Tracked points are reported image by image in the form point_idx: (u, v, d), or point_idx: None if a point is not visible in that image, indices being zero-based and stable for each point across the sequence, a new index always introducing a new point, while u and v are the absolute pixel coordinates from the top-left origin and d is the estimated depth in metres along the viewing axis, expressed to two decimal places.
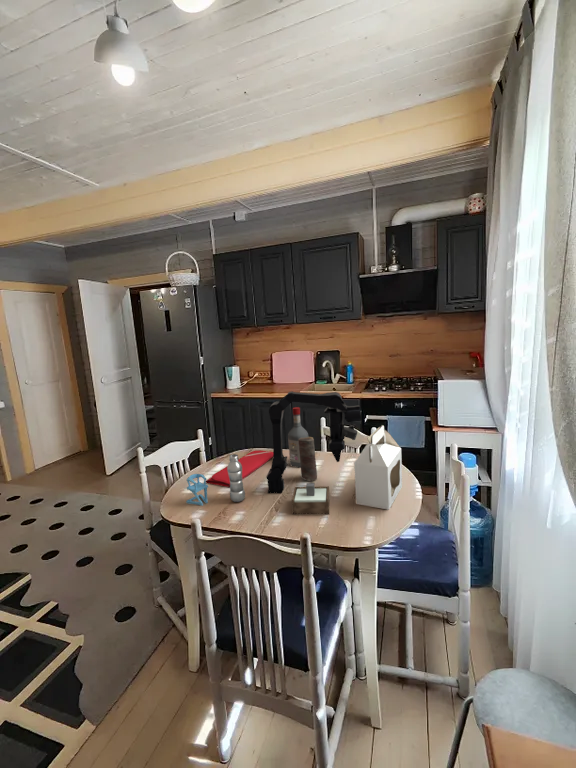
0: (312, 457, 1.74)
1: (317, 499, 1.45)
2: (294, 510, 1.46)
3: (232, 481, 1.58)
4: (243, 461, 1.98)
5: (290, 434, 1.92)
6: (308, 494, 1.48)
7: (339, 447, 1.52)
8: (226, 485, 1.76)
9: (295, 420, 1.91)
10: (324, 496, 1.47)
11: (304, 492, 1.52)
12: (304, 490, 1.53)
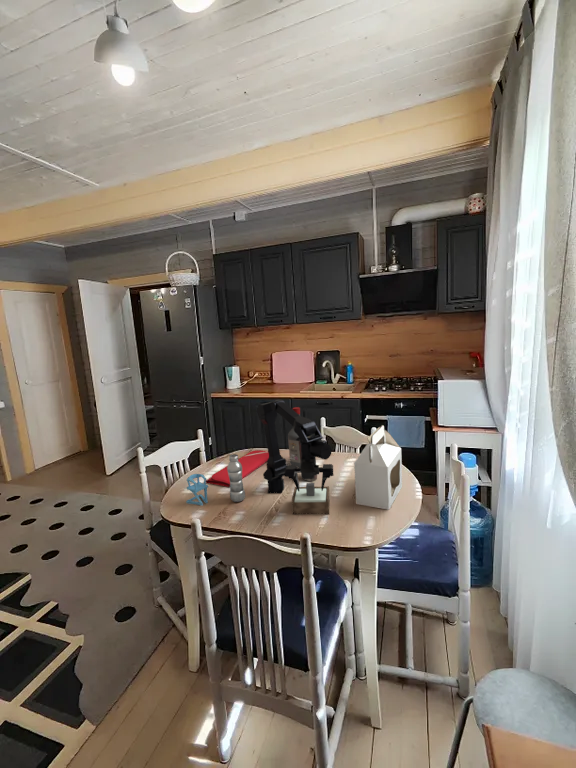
0: None
1: (317, 499, 1.45)
2: (294, 510, 1.46)
3: (232, 481, 1.58)
4: (243, 461, 1.98)
5: (290, 434, 1.92)
6: (308, 494, 1.48)
7: None
8: (226, 485, 1.77)
9: None
10: (324, 496, 1.47)
11: (304, 492, 1.52)
12: (304, 490, 1.53)
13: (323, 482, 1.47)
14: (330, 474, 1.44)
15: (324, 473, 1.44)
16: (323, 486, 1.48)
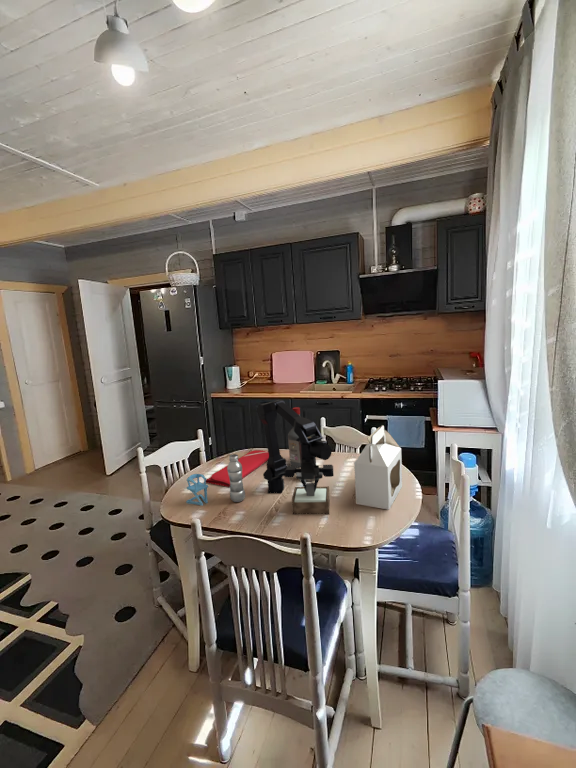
0: None
1: (317, 499, 1.45)
2: (294, 510, 1.46)
3: (232, 481, 1.58)
4: (242, 461, 1.98)
5: (290, 434, 1.92)
6: (308, 494, 1.48)
7: None
8: (225, 485, 1.77)
9: None
10: (324, 496, 1.47)
11: (304, 492, 1.52)
12: (304, 490, 1.53)
13: (316, 483, 1.47)
14: (330, 474, 1.44)
15: (324, 473, 1.44)
16: None
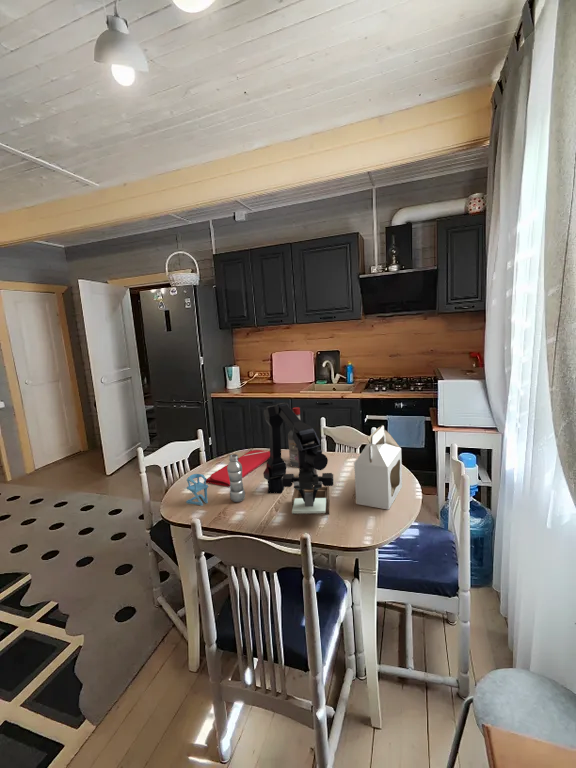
0: None
1: (316, 510, 1.36)
2: None
3: (232, 481, 1.58)
4: (242, 461, 1.99)
5: (290, 434, 1.92)
6: (307, 504, 1.39)
7: None
8: (225, 484, 1.77)
9: None
10: (324, 507, 1.38)
11: (302, 502, 1.43)
12: (302, 500, 1.45)
13: (315, 492, 1.38)
14: (330, 484, 1.35)
15: (324, 483, 1.35)
16: None
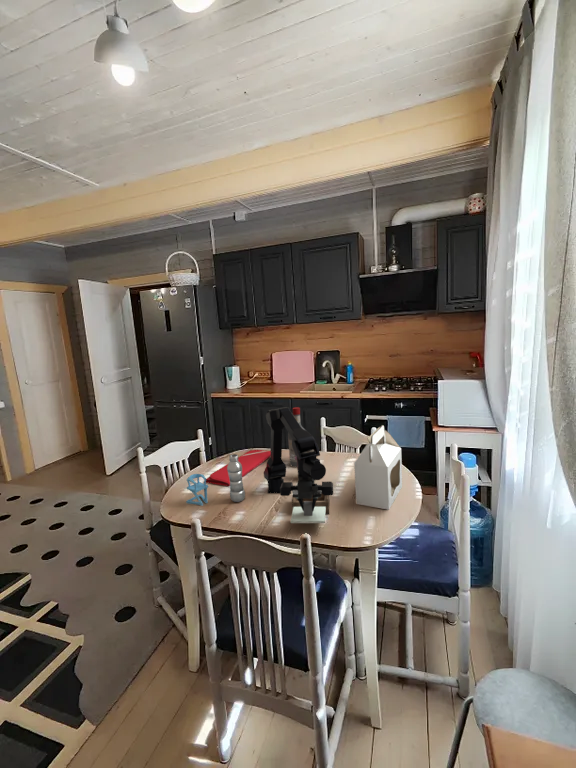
0: None
1: (315, 520, 1.33)
2: None
3: (232, 481, 1.58)
4: (241, 461, 1.99)
5: None
6: (306, 514, 1.36)
7: None
8: (224, 484, 1.78)
9: None
10: (323, 516, 1.35)
11: (301, 511, 1.39)
12: (301, 509, 1.41)
13: (314, 501, 1.35)
14: (330, 493, 1.32)
15: (323, 492, 1.32)
16: (314, 506, 1.35)
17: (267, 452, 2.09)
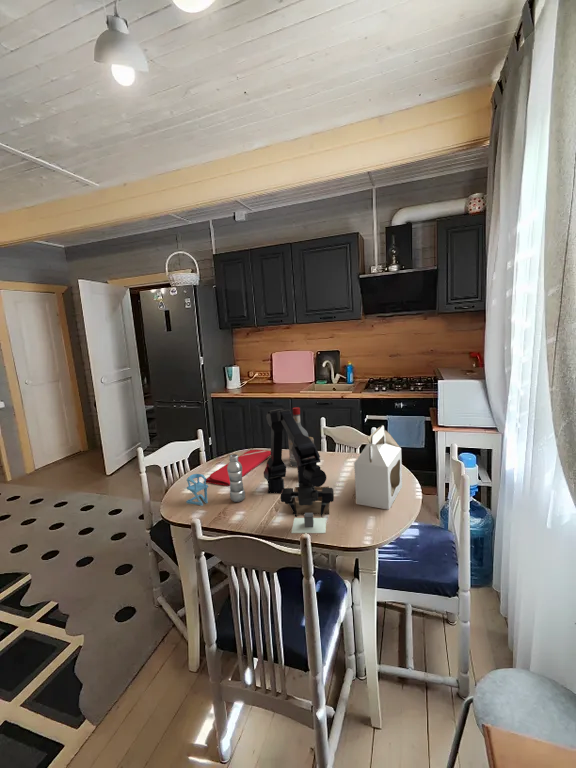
0: (312, 457, 1.74)
1: (316, 531, 1.33)
2: None
3: (232, 481, 1.58)
4: (240, 461, 1.99)
5: None
6: (306, 525, 1.37)
7: None
8: (224, 484, 1.78)
9: (295, 420, 1.91)
10: (324, 528, 1.35)
11: (302, 522, 1.40)
12: (302, 520, 1.42)
13: (322, 508, 1.35)
14: (330, 499, 1.32)
15: (324, 498, 1.32)
16: (322, 512, 1.35)
17: (266, 452, 2.10)
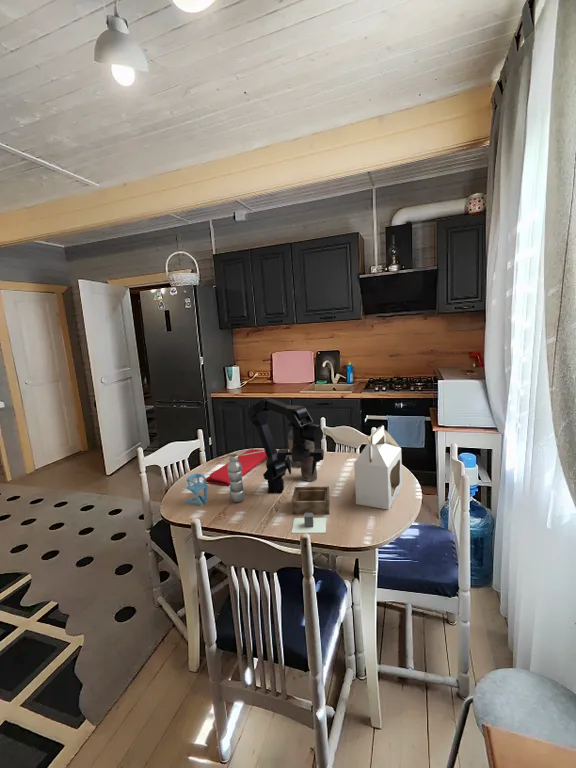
0: (312, 457, 1.74)
1: (316, 531, 1.33)
2: (294, 510, 1.46)
3: (232, 481, 1.58)
4: (240, 461, 2.00)
5: (290, 434, 1.92)
6: (306, 525, 1.37)
7: None
8: (224, 484, 1.78)
9: None
10: (324, 527, 1.35)
11: (302, 522, 1.40)
12: (302, 520, 1.42)
13: (313, 466, 1.52)
14: (320, 458, 1.49)
15: (314, 457, 1.50)
16: (313, 470, 1.53)
17: None
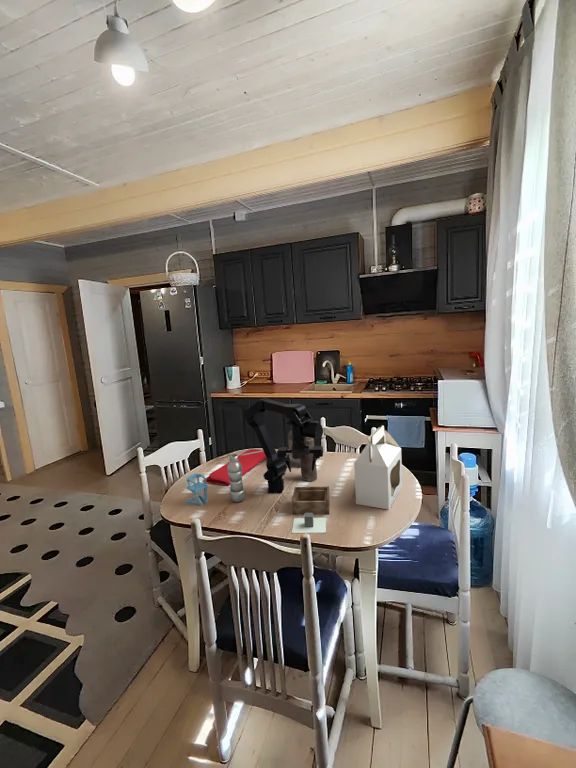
0: (312, 457, 1.74)
1: (316, 531, 1.33)
2: (294, 510, 1.46)
3: (232, 481, 1.58)
4: (239, 460, 2.00)
5: (290, 434, 1.92)
6: (306, 525, 1.37)
7: None
8: (224, 484, 1.78)
9: None
10: (324, 527, 1.35)
11: (302, 522, 1.40)
12: (302, 520, 1.42)
13: (313, 463, 1.54)
14: (320, 455, 1.51)
15: (314, 454, 1.52)
16: (313, 467, 1.55)
17: None
